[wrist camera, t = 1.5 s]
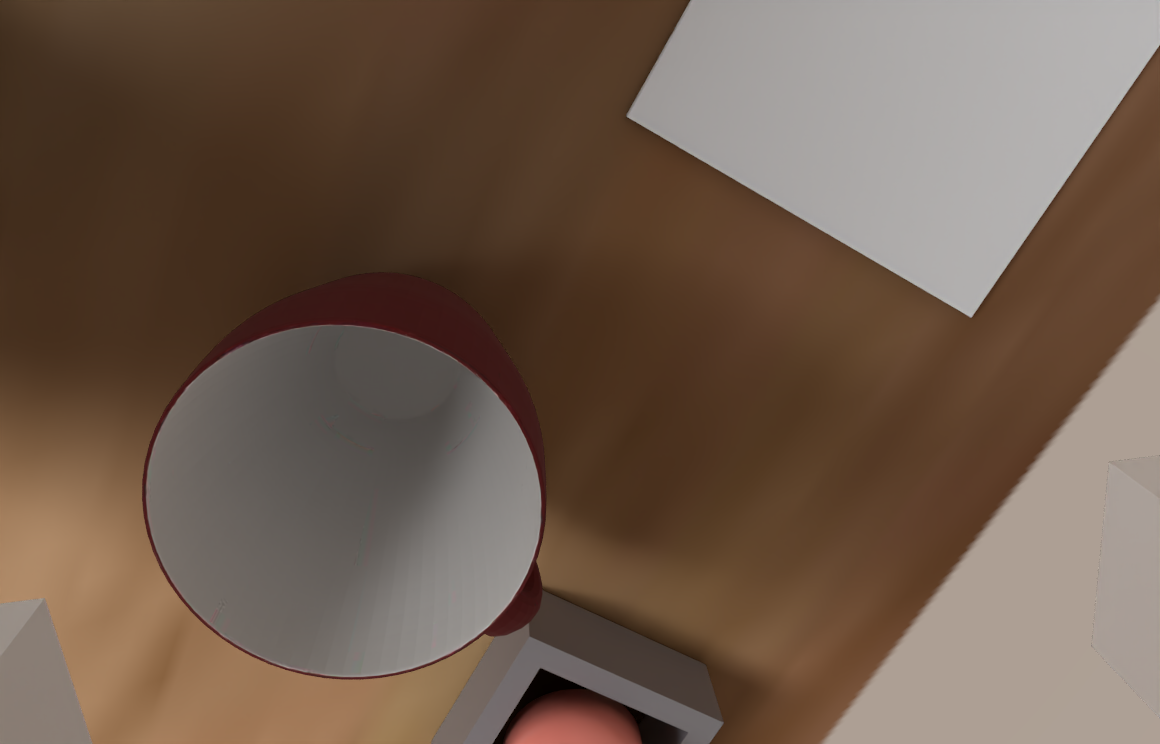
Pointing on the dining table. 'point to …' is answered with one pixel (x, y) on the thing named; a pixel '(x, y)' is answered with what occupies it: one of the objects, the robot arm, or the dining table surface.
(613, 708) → the button
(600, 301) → the dining table surface
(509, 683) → the button housing
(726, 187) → the dining table surface
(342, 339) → the mug
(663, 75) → the paper
